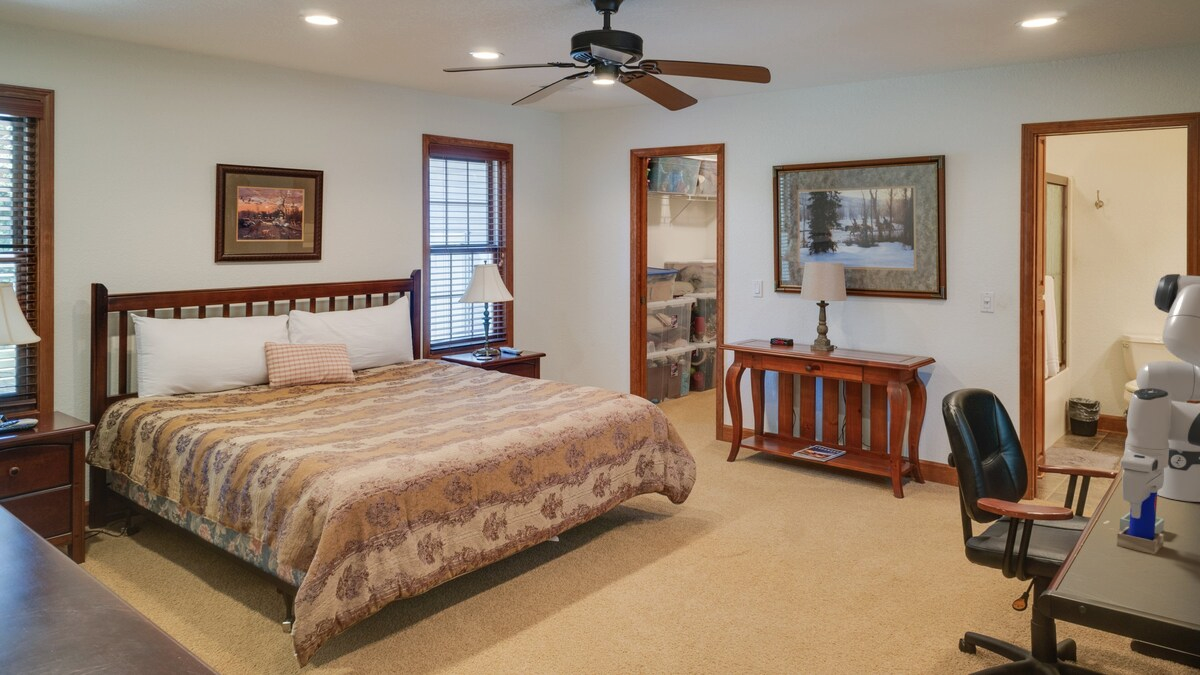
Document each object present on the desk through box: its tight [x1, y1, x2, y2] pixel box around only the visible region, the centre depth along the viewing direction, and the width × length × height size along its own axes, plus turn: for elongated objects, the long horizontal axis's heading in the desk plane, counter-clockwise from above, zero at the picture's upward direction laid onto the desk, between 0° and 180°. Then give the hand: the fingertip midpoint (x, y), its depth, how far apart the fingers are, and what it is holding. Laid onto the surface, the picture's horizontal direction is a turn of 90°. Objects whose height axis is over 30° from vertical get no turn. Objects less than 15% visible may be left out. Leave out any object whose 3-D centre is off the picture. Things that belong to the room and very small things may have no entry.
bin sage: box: [1118, 511, 1165, 534], centre depth 214 cm, size 8×8×3 cm
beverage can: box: [1129, 486, 1158, 541], centre depth 203 cm, size 5×5×15 cm
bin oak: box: [1116, 526, 1165, 555], centre depth 203 cm, size 8×8×3 cm
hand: (1142, 513), depth 203 cm, fingers open, 8 cm apart
